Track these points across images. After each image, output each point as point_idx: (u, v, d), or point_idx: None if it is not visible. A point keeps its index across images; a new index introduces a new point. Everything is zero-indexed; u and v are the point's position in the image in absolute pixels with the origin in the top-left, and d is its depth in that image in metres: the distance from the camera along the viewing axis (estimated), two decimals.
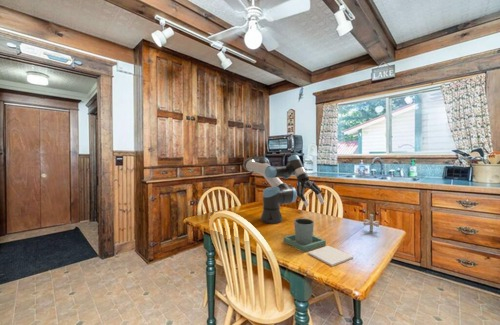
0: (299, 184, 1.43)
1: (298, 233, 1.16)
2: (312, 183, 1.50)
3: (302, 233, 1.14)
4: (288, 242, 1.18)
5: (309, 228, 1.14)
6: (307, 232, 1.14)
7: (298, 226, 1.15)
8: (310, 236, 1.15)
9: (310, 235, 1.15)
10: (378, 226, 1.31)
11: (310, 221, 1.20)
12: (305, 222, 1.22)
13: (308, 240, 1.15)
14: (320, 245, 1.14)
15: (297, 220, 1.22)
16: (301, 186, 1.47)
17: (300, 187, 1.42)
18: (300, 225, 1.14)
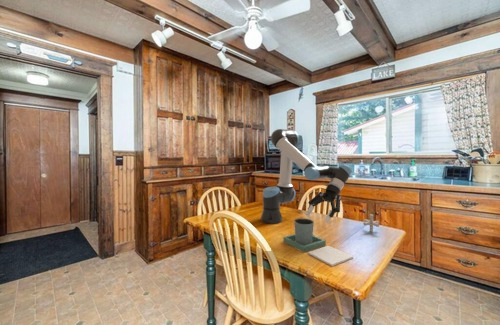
0: None
1: (298, 233, 1.16)
2: (321, 196, 1.31)
3: (302, 233, 1.14)
4: (288, 242, 1.18)
5: (309, 228, 1.14)
6: (307, 232, 1.14)
7: (298, 226, 1.15)
8: (310, 236, 1.15)
9: (310, 235, 1.15)
10: (378, 226, 1.31)
11: (310, 221, 1.20)
12: (305, 222, 1.22)
13: (308, 240, 1.15)
14: (320, 245, 1.14)
15: (297, 220, 1.22)
16: (331, 196, 1.23)
17: None
18: (300, 225, 1.14)
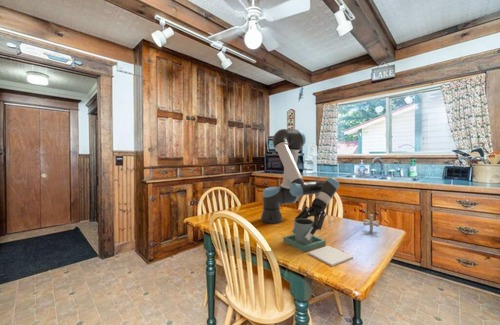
0: None
1: (298, 233, 1.16)
2: (307, 210, 1.27)
3: (302, 233, 1.14)
4: (288, 242, 1.18)
5: (309, 228, 1.14)
6: (307, 232, 1.14)
7: (298, 226, 1.15)
8: None
9: None
10: (378, 226, 1.31)
11: (310, 221, 1.20)
12: (305, 222, 1.22)
13: (308, 240, 1.15)
14: (320, 245, 1.14)
15: (297, 220, 1.22)
16: (316, 212, 1.19)
17: None
18: (300, 225, 1.14)
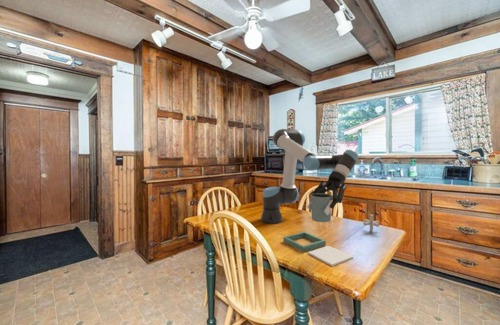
0: None
1: (315, 207, 1.05)
2: (323, 185, 1.16)
3: (320, 207, 1.03)
4: (288, 242, 1.18)
5: (328, 201, 1.03)
6: (326, 206, 1.03)
7: (315, 200, 1.04)
8: None
9: None
10: (378, 226, 1.31)
11: (328, 195, 1.09)
12: (322, 197, 1.11)
13: (327, 215, 1.04)
14: (320, 245, 1.14)
15: (313, 195, 1.11)
16: (334, 185, 1.08)
17: None
18: (318, 198, 1.03)
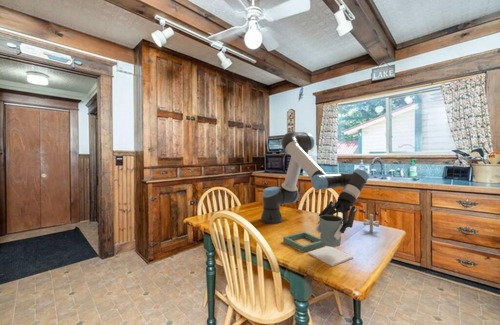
0: None
1: (324, 231, 1.01)
2: None
3: (330, 231, 0.99)
4: (288, 242, 1.18)
5: (338, 226, 0.99)
6: (336, 230, 0.99)
7: (325, 223, 1.00)
8: None
9: None
10: (378, 226, 1.31)
11: (337, 218, 1.05)
12: (331, 219, 1.07)
13: None
14: (320, 245, 1.14)
15: (322, 217, 1.07)
16: (344, 207, 1.04)
17: None
18: (327, 222, 0.99)
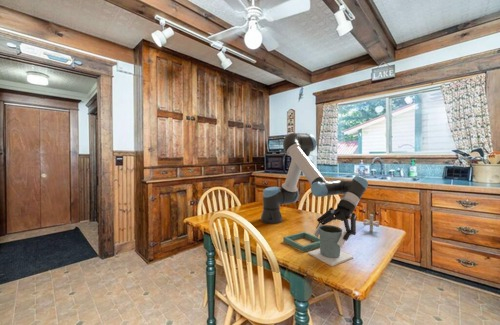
0: None
1: (324, 242, 1.01)
2: (331, 212, 1.13)
3: (329, 243, 1.00)
4: (288, 242, 1.18)
5: (338, 237, 0.99)
6: (335, 242, 0.99)
7: (325, 235, 1.00)
8: (338, 246, 1.00)
9: (338, 245, 1.00)
10: (378, 226, 1.31)
11: (337, 228, 1.06)
12: (331, 229, 1.08)
13: (336, 251, 1.00)
14: None
15: (322, 227, 1.07)
16: (344, 215, 1.04)
17: None
18: (327, 233, 1.00)
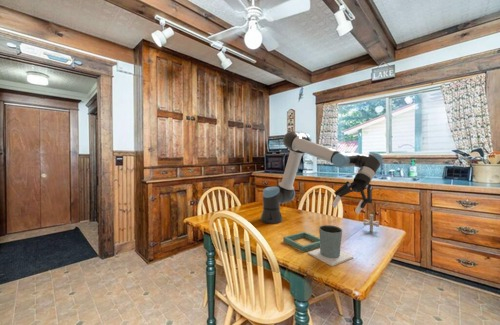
0: None
1: (324, 242, 1.01)
2: (348, 186, 1.21)
3: (329, 243, 1.00)
4: (288, 242, 1.18)
5: (338, 237, 0.99)
6: (335, 242, 0.99)
7: (325, 235, 1.00)
8: (338, 246, 1.00)
9: (338, 245, 1.00)
10: (378, 226, 1.31)
11: (337, 228, 1.06)
12: (331, 229, 1.08)
13: (336, 251, 1.00)
14: None
15: (322, 227, 1.07)
16: (360, 186, 1.13)
17: None
18: (327, 234, 1.00)
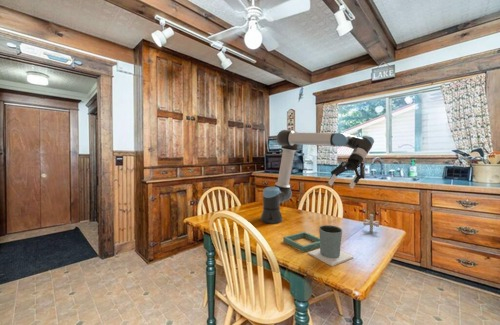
0: None
1: (324, 242, 1.01)
2: (343, 166, 1.33)
3: (329, 243, 1.00)
4: (288, 242, 1.18)
5: (338, 237, 0.99)
6: (335, 242, 0.99)
7: (325, 235, 1.00)
8: (338, 246, 1.00)
9: (338, 245, 1.00)
10: (378, 226, 1.31)
11: (337, 228, 1.06)
12: (331, 229, 1.08)
13: (336, 251, 1.00)
14: None
15: (322, 227, 1.07)
16: (354, 165, 1.24)
17: None
18: (327, 234, 1.00)
